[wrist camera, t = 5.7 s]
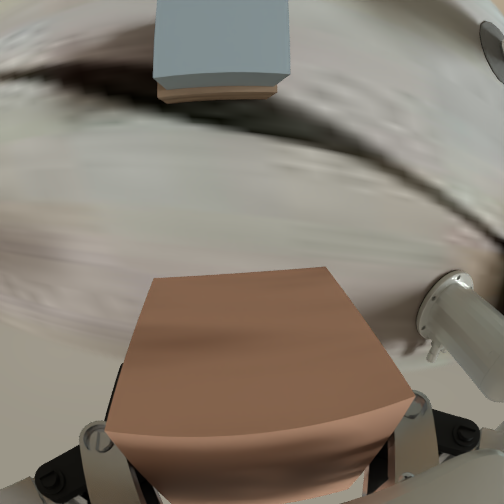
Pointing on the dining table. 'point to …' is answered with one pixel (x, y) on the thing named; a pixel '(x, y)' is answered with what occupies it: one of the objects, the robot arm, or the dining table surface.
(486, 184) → the dining table surface
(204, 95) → the tower base
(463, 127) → the dining table surface
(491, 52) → the cup
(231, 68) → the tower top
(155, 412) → the terracotta cube
